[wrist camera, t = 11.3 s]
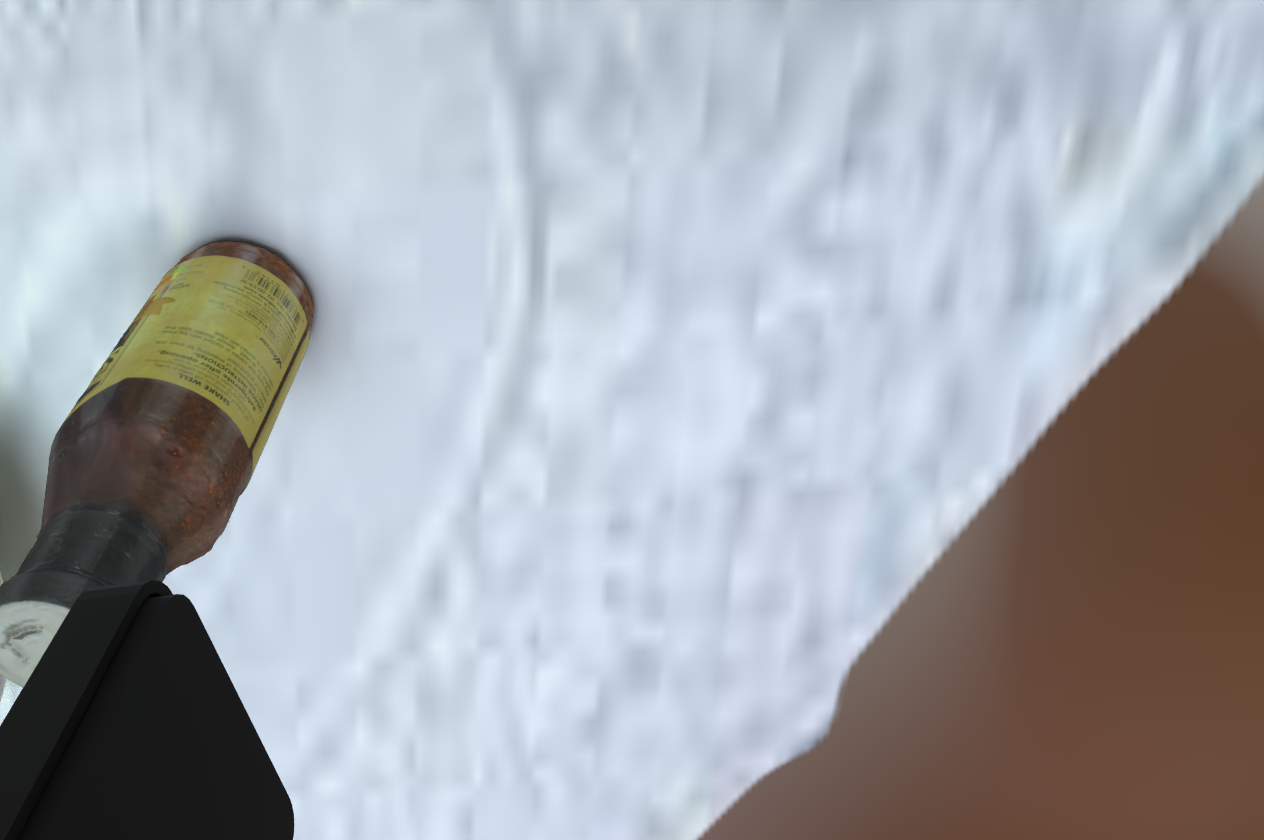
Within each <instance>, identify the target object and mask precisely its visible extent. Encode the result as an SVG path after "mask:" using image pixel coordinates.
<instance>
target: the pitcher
mask: <svg viewBox="0 0 1264 840" xmlns="http://www.w3.org/2000/svg"><path fill="white" fill-rule="evenodd" d="M2 584H3V579H2V576H1V573H0V586H1V585H2ZM5 682H6V678H5V677H4V676H3V675H1V674H0V701H1V697H2V694H3V690H4V686H5Z"/></svg>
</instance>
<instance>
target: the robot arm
mask: <svg viewBox="0 0 1264 840" xmlns="http://www.w3.org/2000/svg"><path fill="white" fill-rule="evenodd" d="M293 836H294V813H293V808H292V804H291V801H290V798H289V796H288V794H287V792H286V790H285V788H284V786H283V784H282V782H281V780H280V778H279V776H278V774H277V772H276V770H275V768H274V766H273V764H272V762H271V760H270V758H269V756H268V754H267V752H266V750H265V748H264V746H263V744H262V742H261V740H260V738H259V736H258V734H257V732H256V730H255V728H254V726H253V724H252V722H251V720H250V718H249V716H248V714H247V712H246V710H245V708H244V706H243V704H242V702H241V700H240V698H239V696H238V694H237V692H236V690H235V688H234V686H233V684H232V682H231V680H230V678H229V676H228V674H227V672H226V670H225V668H224V666H223V664H222V662H221V660H220V658H219V656H218V654H217V652H216V650H215V648H214V646H213V643H212V641H211V639H210V637H209V635H208V633H207V631H206V629H205V627H204V625H203V623H202V621H201V619H200V617H199V615H198V613H197V611H196V609H195V607H194V606H193V604H192V603H191V601H190V600H189V599H188V598H187V597H186V596H184V595H180V594H176V595H173V594H172V592H171V591H170V589H169V588H168V586H166V585H165V584H163V583H162V582H161V581H156V580H148V581H140V582H132V583H124V584H116V585H108V586H101V587H93V588H90V589H88V590H86V591H84V592H82V594H81V595H80V596H79V597H78V598H77V599H76V601H75V602H74V604H73V606H72V607H71V609H70V611H69V612H68V614H67V616H66V617H65V619H64V621H63V622H62V624H61V626H60V627H59V629H58V631H57V632H56V634H55V636H54V637H53V639H52V641H51V642H50V644H49V646H48V647H47V649H46V651H45V652H44V654H43V656H42V657H41V659H40V661H39V662H38V664H37V666H36V667H35V669H34V671H33V672H32V674H31V676H30V677H29V679H28V681H27V682H26V684H25V686H24V687H23V689H22V691H21V692H20V694H19V696H18V697H17V699H16V701H15V702H14V704H13V706H12V707H11V709H10V711H9V712H8V714H7V716H6V718H5V719H4V721H3V723H2V724H1V726H0V840H293Z"/></svg>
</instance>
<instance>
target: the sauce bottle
mask: <svg viewBox="0 0 1264 840" xmlns="http://www.w3.org/2000/svg"><path fill="white" fill-rule="evenodd" d="M312 317H313V304H312V301H311V298H310V294H309V292H308V290H307V288H306V287H305V285H304V284H303V282H302V280H301V279H300V278H299V277H298V276H297V275H296V274H295V272H294V271H293V269H292V268H291V267H290V266H289V265H288V264H287V263H286V262H284V261H283V260H282V259H280V258H279V257H278V256H276V255H274V254H272V253H270V252H269V251H268V250H266V249H264V248H262V247H257V246H253V245H251V244H247V243H245V242H240V243H239V242H231V241H225V242H214V243H211V244H207V245H204V246H202V247H200V248H198V249H197V250H195V251H194V252H192V253H191V254H189V255H187V256H185V257H183V258H182V259H181V260H180V262H179V263H178V264H177V265H176V266H175V267H174V268H172V269H171V270H170V271H169V272H167V274H166V275H165V276H164V277H163V279H162V280H161V282H160V283H159V284H158V286H157V287H156V289H155V290H154V292H153V293H152V295H151V296H150V297H149V299H148V300H147V302H146V303H145V305H144V306H143V308H142V309H141V311H140V312H139V314H138V315H137V316H136V318H135V319H134V321H133V322H132V324H131V325H130V327H129V328H128V329H127V331H126V332H125V333H124V335H123V337H122V338H121V339H120V341H119V342H118V344H117V345H116V347H115V348H114V350H113V351H112V353H111V354H110V355H109V357H108V358H107V360H106V361H105V362H104V364H103V365H102V367H101V368H100V369H99V371H98V372H97V374H96V375H95V377H94V379H93V380H92V382H91V383H90V385H89V386H88V388H87V389H86V391H85V392H84V393H83V395H82V396H81V397H80V398H79V400H78V401H77V403H76V405H75V406H74V408H73V409H72V411H71V412H70V414H69V415H68V417H67V418H66V420H65V421H64V423H63V424H62V426H61V427H60V429H59V431H58V432H57V434H56V436H55V438H54V441H53V444H52V447H51V452H50V457H49V468H48V476H47V484H46V492H45V500H44V508H43V517H42V527H41V530H40V532H39V534H38V536H37V541H36V543H35V544H34V546H33V548H32V549H31V551H30V552H29V554H28V555H27V557H26V559H25V560H24V562H23V563H22V565H21V567H20V569H19V571H18V573H17V574H16V575H15V576H14V577H12V578H11V579H10V580H8V581H7V582H5V583H3V584H2V585H1V586H0V674H1V675H3V676H4V677H5V678H7V679H8V680H10V681H12V682H14V683H15V684H17V685H19V686H21V687H24V686H25V684H26V682H27V681H28V679H29V677H30V676H31V674H32V672H33V671H34V669H35V667H36V666H37V664H38V662H39V661H40V659H41V657H42V656H43V654H44V652H45V651H46V649H47V647H48V646H49V644H50V642H51V641H52V639H53V637H54V636H55V634H56V632H57V631H58V629H59V627H60V626H61V624H62V622H63V621H64V619H65V617H66V616H67V614H68V612H69V611H70V609H71V607H72V606H73V604H74V602H75V601H76V599H77V598H78V597H79V596H80V595H81V594H82V592H84V591H86V590H88V589H90V588H93V587H101V586H108V585H116V584H124V583H132V582H140V581H148V580H156V581H161V582H163V580H164V579H165V576H166V575H167V574H168V573H170V572H171V571H173V570H174V569H176V568H177V567H179V566H181V565H185V564H188V563H190V562H192V561H194V560H195V559H197V558H199V557H201V556H203V555H205V554H206V553H207V552H209V551H210V550H211V549H212V547H213V545H214V543H215V542H216V540H217V539H218V538H219V536H221V535H222V533H223V531H224V529H225V527H226V525H227V523H228V521H229V519H230V516H231V514H232V512H233V510H234V507H235V505H236V502H237V500H238V498H239V496H240V495H241V494H242V493H243V492H244V490H245V489H246V487H247V485H248V483H249V481H250V479H251V477H252V475H253V472H254V470H255V467H256V465H257V463H258V461H259V458H260V456H261V454H262V451H263V449H264V447H265V445H266V442H267V440H268V438H269V435H270V433H271V431H272V429H273V426H274V424H275V422H276V419H277V417H278V415H279V412H280V410H281V408H282V405H283V403H284V401H285V398H286V396H287V394H288V392H289V389H290V387H291V385H292V383H293V380H294V378H295V376H296V373H297V371H298V369H299V367H300V364H301V362H302V360H303V358H304V355H305V353H306V350H307V347H308V344H309V337H310V331H311V326H312Z"/></svg>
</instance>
